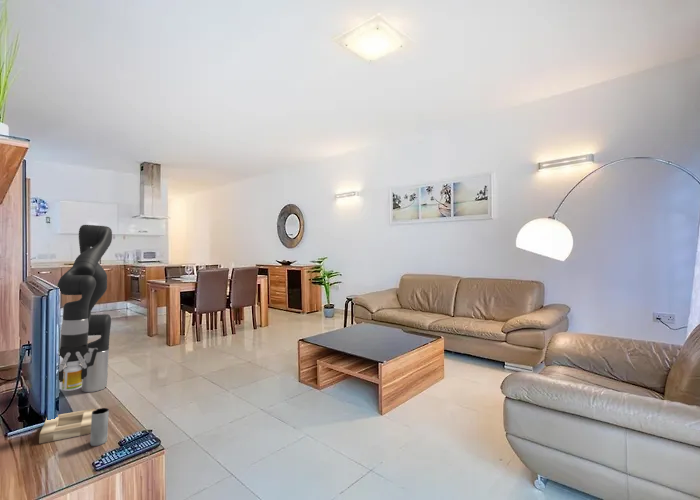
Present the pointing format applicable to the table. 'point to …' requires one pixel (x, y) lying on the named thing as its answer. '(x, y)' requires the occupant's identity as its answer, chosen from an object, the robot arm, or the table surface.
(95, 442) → the planter
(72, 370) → the supplement bottle
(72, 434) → the holder
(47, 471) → the table surface
